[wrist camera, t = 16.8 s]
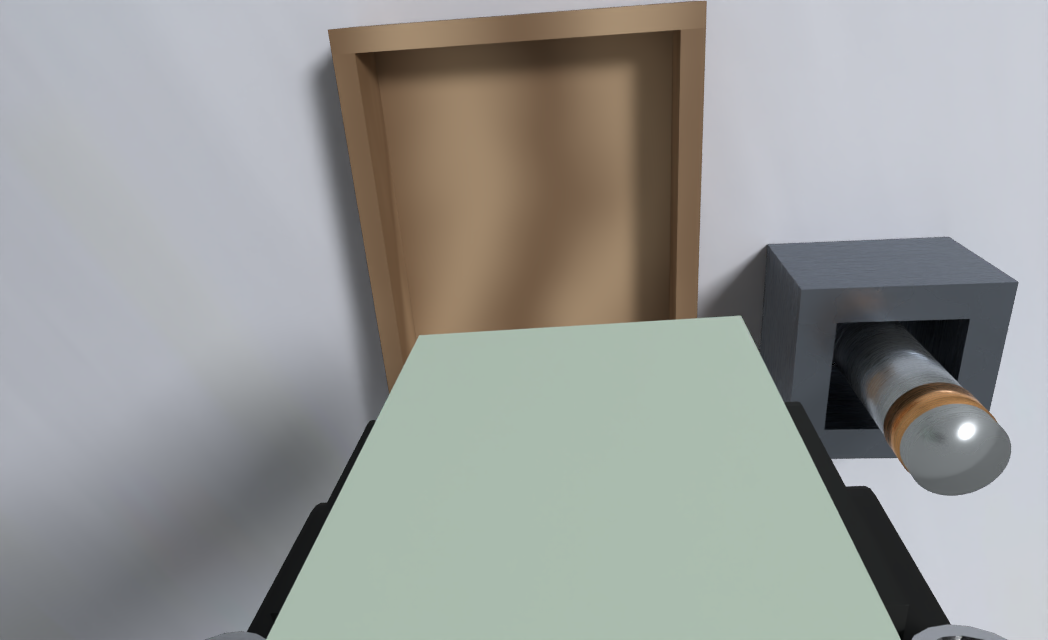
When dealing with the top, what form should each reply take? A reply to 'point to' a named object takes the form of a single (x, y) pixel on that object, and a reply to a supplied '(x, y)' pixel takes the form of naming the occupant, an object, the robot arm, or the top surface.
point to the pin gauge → (921, 408)
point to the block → (872, 296)
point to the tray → (526, 168)
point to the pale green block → (585, 499)
